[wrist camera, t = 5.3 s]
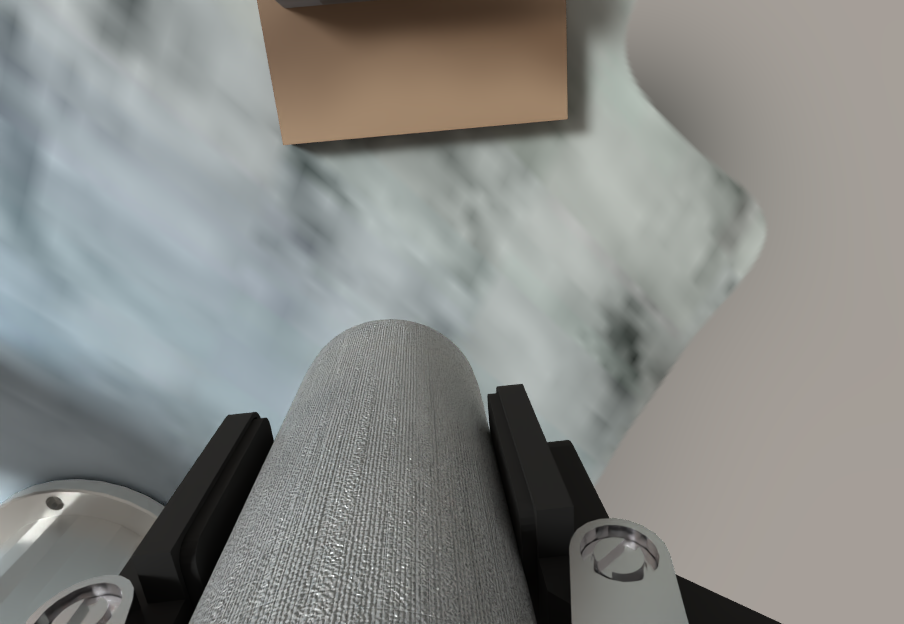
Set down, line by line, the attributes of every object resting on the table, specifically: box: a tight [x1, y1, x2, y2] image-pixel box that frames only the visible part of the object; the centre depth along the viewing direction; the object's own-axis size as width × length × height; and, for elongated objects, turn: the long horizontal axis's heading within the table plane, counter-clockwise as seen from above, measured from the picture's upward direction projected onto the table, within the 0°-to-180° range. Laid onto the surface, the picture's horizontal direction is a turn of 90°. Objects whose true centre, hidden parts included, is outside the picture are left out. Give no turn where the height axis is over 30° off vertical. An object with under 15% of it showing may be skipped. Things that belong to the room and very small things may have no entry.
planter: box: [189, 319, 537, 624], centre depth 9 cm, size 4×4×10 cm
